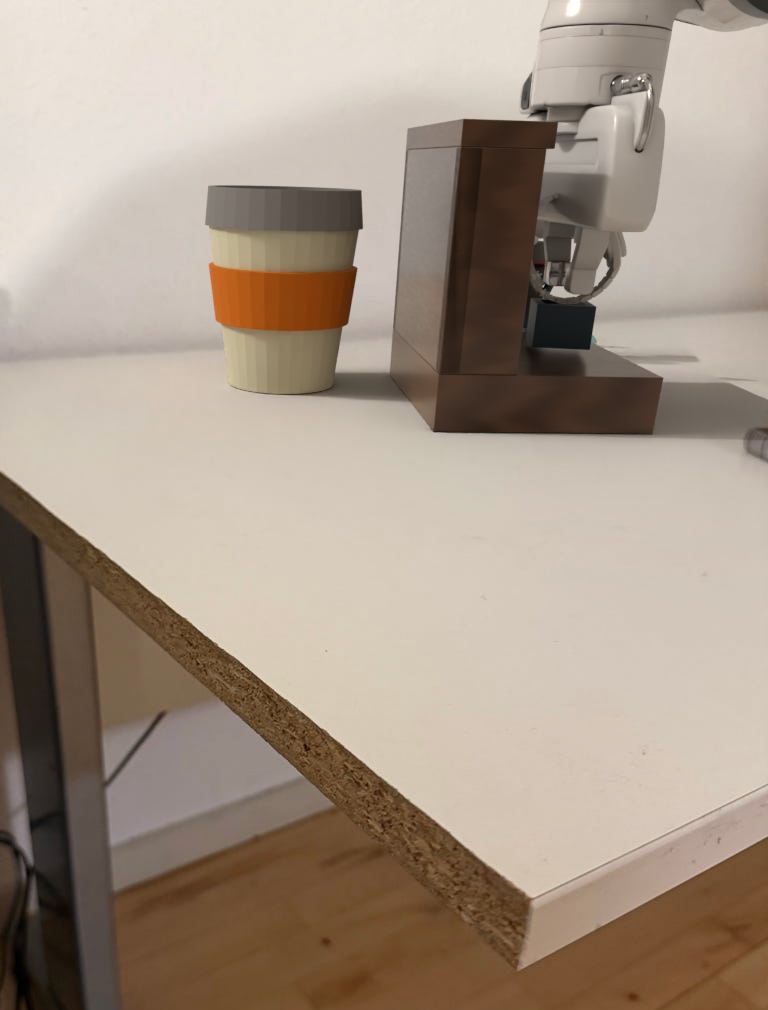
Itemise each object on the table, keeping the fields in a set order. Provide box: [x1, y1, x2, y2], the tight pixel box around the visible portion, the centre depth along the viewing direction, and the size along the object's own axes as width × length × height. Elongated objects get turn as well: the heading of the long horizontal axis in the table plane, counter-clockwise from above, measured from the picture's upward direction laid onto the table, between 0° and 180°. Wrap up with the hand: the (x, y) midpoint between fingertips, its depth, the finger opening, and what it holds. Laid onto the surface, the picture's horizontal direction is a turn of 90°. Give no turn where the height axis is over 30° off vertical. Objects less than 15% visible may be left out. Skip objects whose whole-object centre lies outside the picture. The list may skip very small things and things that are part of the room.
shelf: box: [389, 118, 664, 435], centre depth 72 cm, size 16×20×20 cm
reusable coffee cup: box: [204, 184, 364, 395], centre depth 78 cm, size 12×13×15 cm
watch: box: [526, 193, 628, 350], centre depth 73 cm, size 6×8×11 cm
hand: (566, 289), depth 73 cm, fingers closed on watch, 4 cm apart
